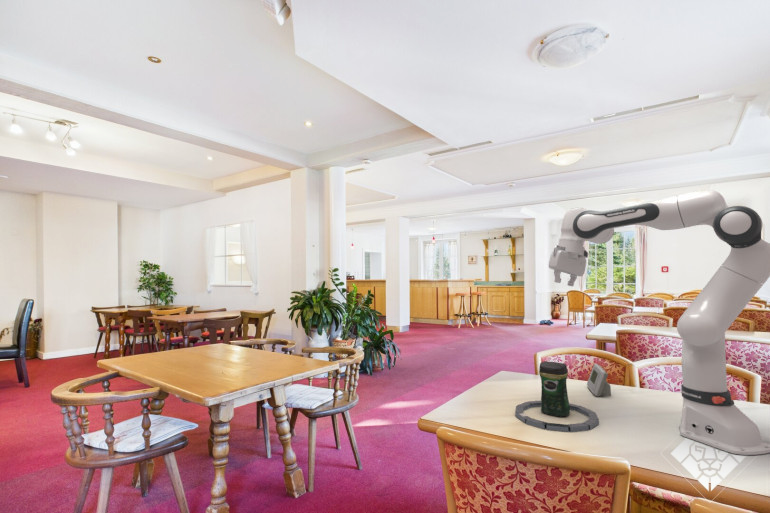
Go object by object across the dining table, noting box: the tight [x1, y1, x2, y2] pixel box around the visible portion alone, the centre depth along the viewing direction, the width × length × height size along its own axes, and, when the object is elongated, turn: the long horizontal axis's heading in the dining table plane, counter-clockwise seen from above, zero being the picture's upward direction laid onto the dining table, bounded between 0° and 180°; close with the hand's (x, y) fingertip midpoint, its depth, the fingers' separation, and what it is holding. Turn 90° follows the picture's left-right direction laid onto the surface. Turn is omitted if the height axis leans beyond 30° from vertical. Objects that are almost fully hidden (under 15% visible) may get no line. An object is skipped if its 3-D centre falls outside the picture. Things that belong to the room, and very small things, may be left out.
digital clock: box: [586, 363, 612, 398], centre depth 170 cm, size 16×9×11 cm, turn 152°
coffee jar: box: [538, 360, 571, 417], centre depth 147 cm, size 10×8×19 cm
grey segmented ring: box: [514, 399, 600, 433], centre depth 143 cm, size 27×27×2 cm
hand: (564, 284), depth 154 cm, fingers open, 8 cm apart
